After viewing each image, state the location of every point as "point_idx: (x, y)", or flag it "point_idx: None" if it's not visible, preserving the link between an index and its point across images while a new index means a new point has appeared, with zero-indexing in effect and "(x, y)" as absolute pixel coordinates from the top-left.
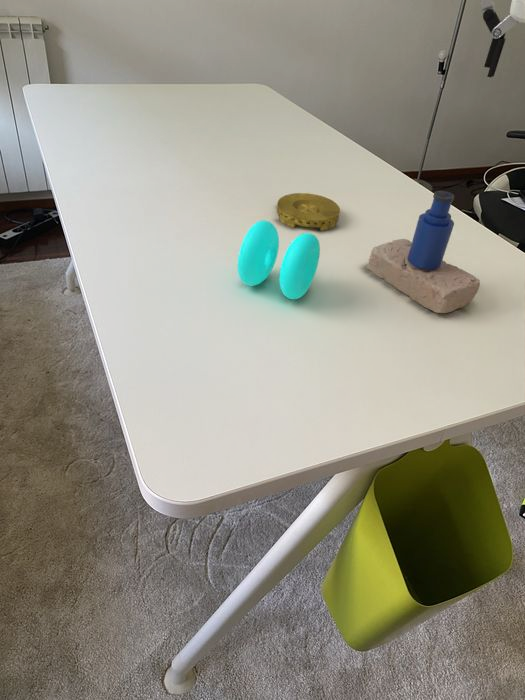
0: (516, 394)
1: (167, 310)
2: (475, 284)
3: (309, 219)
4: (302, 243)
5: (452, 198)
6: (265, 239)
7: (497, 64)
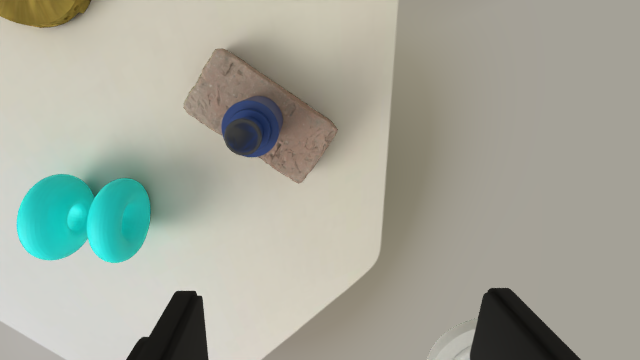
0: (377, 253)
1: (47, 286)
2: (331, 138)
3: (50, 21)
4: (104, 253)
5: (259, 145)
6: (55, 244)
7: (193, 342)
